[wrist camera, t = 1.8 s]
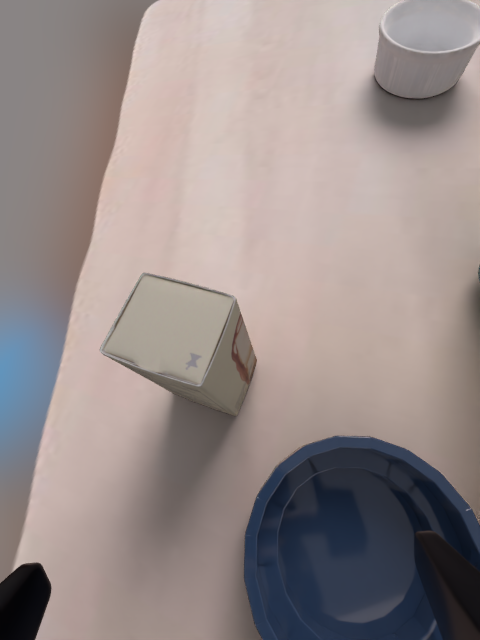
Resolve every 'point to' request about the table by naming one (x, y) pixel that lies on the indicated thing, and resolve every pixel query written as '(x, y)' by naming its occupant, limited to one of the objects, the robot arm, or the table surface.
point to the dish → (349, 542)
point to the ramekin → (426, 46)
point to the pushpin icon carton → (184, 341)
